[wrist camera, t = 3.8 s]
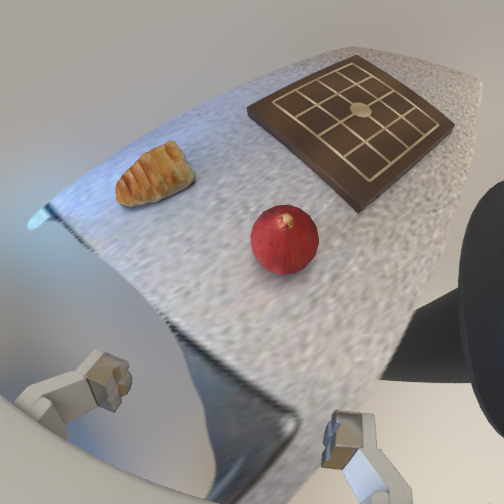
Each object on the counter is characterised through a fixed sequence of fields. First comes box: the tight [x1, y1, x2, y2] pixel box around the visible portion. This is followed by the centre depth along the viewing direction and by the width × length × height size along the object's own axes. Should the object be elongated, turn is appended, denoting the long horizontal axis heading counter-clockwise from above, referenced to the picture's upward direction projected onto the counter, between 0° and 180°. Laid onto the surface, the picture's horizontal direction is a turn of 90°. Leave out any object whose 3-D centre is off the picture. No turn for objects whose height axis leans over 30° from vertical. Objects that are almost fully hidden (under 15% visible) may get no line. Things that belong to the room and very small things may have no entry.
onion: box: [251, 205, 319, 275], centre depth 26 cm, size 6×6×8 cm
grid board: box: [247, 55, 455, 213], centre depth 35 cm, size 19×22×2 cm
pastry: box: [116, 141, 195, 207], centre depth 33 cm, size 9×7×4 cm
